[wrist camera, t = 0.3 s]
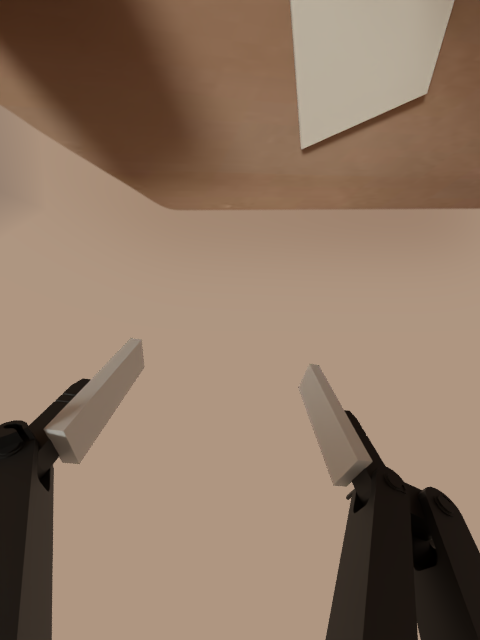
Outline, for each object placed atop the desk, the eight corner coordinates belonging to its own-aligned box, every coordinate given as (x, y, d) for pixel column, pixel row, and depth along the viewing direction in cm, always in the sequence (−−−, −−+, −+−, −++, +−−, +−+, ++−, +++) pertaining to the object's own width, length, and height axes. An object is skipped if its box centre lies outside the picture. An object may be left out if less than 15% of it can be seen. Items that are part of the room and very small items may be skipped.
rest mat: (285, -65, 16) (285, -69, 16) (526, -269, 11) (537, -282, 11) (300, 148, 28) (301, 149, 27) (423, 92, 23) (426, 93, 22)
